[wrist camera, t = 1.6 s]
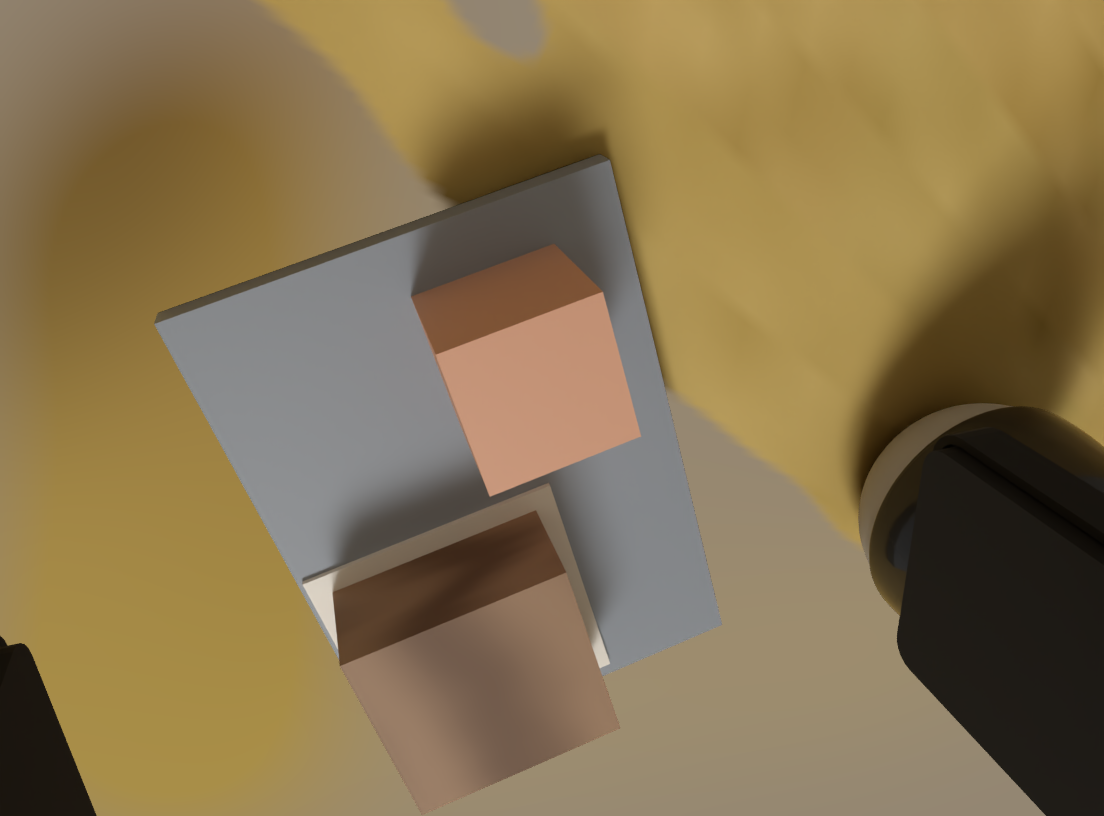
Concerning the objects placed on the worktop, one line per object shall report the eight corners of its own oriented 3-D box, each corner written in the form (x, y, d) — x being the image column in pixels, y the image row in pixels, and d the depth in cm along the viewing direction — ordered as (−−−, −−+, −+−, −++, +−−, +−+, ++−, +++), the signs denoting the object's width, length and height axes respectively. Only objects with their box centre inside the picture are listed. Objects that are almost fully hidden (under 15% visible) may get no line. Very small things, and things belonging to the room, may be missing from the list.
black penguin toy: (1017, 530, 44) (1341, 776, 30) (823, 597, 42) (1077, 887, 29) (1036, 340, 39) (1431, 535, 26) (817, 407, 37) (1119, 653, 24)
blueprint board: (600, 154, 30) (611, 161, 29) (712, 610, 40) (724, 627, 39) (157, 312, 28) (153, 326, 27) (393, 746, 39) (397, 768, 38)
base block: (535, 510, 34) (566, 572, 30) (588, 658, 38) (620, 728, 34) (332, 592, 33) (339, 666, 29) (407, 735, 37) (421, 815, 33)
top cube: (554, 243, 30) (602, 291, 25) (591, 372, 32) (641, 436, 28) (410, 296, 29) (435, 354, 25) (459, 423, 32) (490, 496, 27)
